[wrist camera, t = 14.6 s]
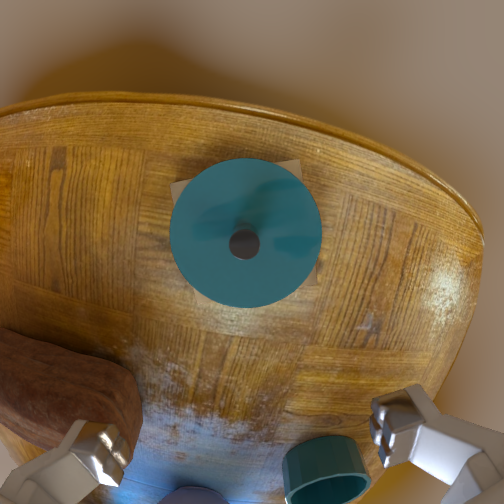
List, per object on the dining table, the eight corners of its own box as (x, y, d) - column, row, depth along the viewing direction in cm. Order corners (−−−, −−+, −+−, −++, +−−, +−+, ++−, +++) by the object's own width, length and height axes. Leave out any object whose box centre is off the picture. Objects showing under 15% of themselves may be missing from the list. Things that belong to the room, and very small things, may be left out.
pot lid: (306, 148, 25) (318, 141, 21) (326, 289, 28) (339, 309, 24) (159, 176, 26) (141, 175, 21) (191, 312, 29) (181, 335, 24)
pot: (361, 427, 35) (375, 463, 28) (356, 467, 38) (366, 499, 31) (277, 444, 36) (281, 484, 28) (286, 482, 39) (290, 515, 31)
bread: (154, 429, 35) (132, 494, 23) (13, 382, 34) (-23, 420, 22) (144, 355, 32) (106, 425, 20) (-9, 313, 31) (-57, 346, 19)
